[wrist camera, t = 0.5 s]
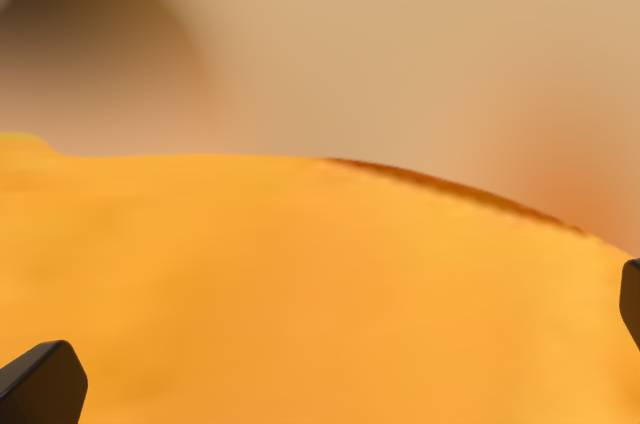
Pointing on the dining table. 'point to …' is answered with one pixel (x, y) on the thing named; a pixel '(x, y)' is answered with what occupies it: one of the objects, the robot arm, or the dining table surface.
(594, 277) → the dining table surface
